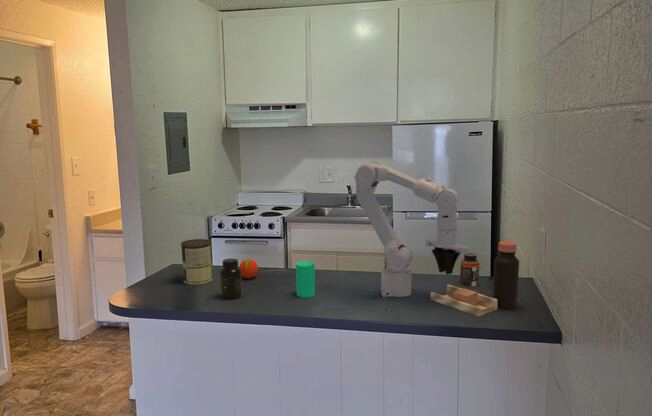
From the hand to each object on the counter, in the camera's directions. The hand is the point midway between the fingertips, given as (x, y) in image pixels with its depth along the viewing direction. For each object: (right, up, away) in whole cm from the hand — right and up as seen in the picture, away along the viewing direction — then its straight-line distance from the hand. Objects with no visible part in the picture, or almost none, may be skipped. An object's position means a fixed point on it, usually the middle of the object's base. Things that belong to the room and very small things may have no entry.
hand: (445, 272), depth 151 cm
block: (+5, -9, -5) cm, 11 cm away
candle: (-43, -9, +10) cm, 45 cm away
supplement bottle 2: (+12, -7, +16) cm, 21 cm away
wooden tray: (+7, -10, -2) cm, 12 cm away
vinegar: (+16, -10, -5) cm, 20 cm away
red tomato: (-65, -6, +29) cm, 71 cm away
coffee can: (-83, -7, +27) cm, 87 cm away
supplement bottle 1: (-67, -9, +10) cm, 68 cm away
